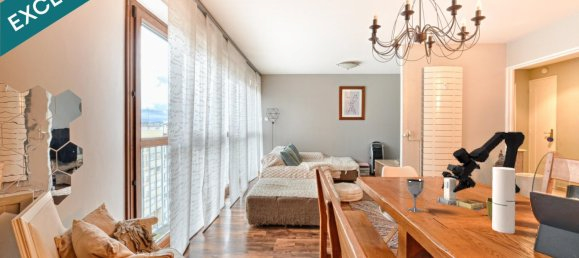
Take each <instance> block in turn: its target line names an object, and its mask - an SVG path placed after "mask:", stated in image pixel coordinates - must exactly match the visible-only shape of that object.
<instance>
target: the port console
mask: <svg viewBox="0 0 579 258" xmlns="http://www.w3.org/2000/svg"><path fill="white" fill-rule="evenodd" d="M435 203H439V204H443V205H448V206H453V207H458V208H463V209H468V210H474V211H481V210H482V209H484V208H485V207H486V208H487V205H486V206H485V205H483V202H479V201H478V202H477V201H474V200H470V199H463V200H462V199H459V198H456V200H447V199H444V196H437V201H435Z"/></svg>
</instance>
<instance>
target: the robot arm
mask: <svg viewBox="0 0 579 258" xmlns="http://www.w3.org/2000/svg"><path fill="white" fill-rule="evenodd" d="M525 138H526V136H525V134H524V133H523V132H522V131H496V132H494V135H492V137H490V138H489V139H488V140H486V141H485V143H484V144H483V145H482V146H480V147H478V148H476V149H473V150H472V151H471V152H468V151H467V150H466V148H465V147H461V148H459V149H457V150H455V151H453V153H452V156H453V158H455V160H456V161H457V162H458V163H459V164H456V165H455V164H452V163H451V164H450V163H448V165H447V167H446V170H447V171H445V170H443V172H441V175H442V176H443V179H444V178H454V179H456V181H458V183H457V184H456V187H455V189H454V190H453V192H454V193H455V192H456V193H457V192H461V191H464V190H467V189H472V188H473V189H475V187H476V186H477V185H476V181H474V179H473V178H472V176H473V175H472V174H473V172H474V171H475V170H481V166H480V163H481V164H482V163H485V162H486V161H487V160H488V159H489V157H490V153H491V152H492V151H493V150H494V149H496V147H498V146H499V145H500V144H501V143H502V142H503V141H504V144H505V146H506V150H505V154H504V159H503V164H502V167H506V168H513V169H515V167H516V161H517V157H518V152H519V151H518V150H519V149H520V147H521V146H522V145H523V144H524V141H525ZM516 182H517V179H516V178H515V194H518V193H520V192H521V188H520V187H519V186H518V184H517V183H516ZM441 189H442V190H444V181H443V182H442V184H441ZM516 202H517V203H518V201H517V200H515V204H517V203H516Z"/></svg>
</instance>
